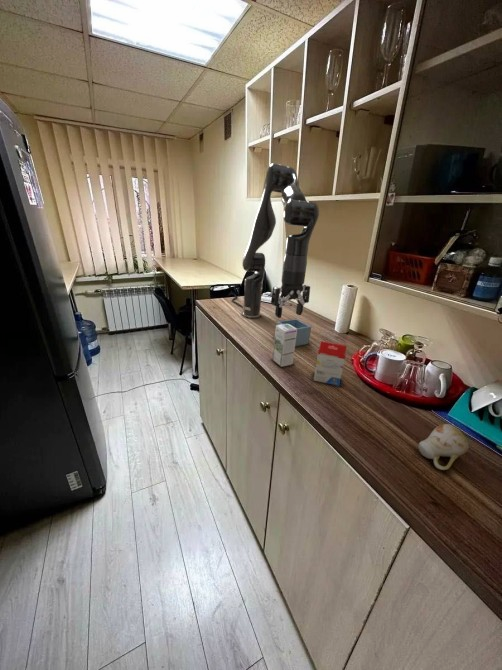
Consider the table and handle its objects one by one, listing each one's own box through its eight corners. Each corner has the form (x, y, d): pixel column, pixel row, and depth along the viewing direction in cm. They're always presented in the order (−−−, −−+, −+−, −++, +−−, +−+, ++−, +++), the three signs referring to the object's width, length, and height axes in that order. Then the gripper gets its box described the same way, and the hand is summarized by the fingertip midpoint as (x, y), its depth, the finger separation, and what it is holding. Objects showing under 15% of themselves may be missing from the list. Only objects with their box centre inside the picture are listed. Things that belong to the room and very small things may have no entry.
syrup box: (293, 364, 101) (298, 328, 96) (280, 367, 99) (284, 330, 93) (284, 357, 106) (288, 322, 100) (271, 360, 103) (275, 324, 97)
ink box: (339, 379, 94) (348, 340, 88) (339, 386, 89) (348, 346, 84) (314, 373, 96) (321, 335, 90) (312, 380, 92) (319, 341, 86)
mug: (405, 447, 66) (425, 411, 66) (432, 459, 69) (451, 425, 69) (431, 466, 59) (454, 426, 59) (461, 479, 62) (482, 441, 61)
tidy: (275, 337, 123) (277, 321, 120) (294, 334, 128) (296, 318, 125) (288, 347, 114) (291, 330, 111) (308, 343, 119) (311, 326, 116)
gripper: (304, 266, 95) (298, 310, 101) (269, 267, 88) (265, 314, 95) (318, 270, 89) (311, 317, 95) (282, 271, 82) (277, 321, 89)
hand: (288, 315), depth 95 cm, fingers open, 8 cm apart
